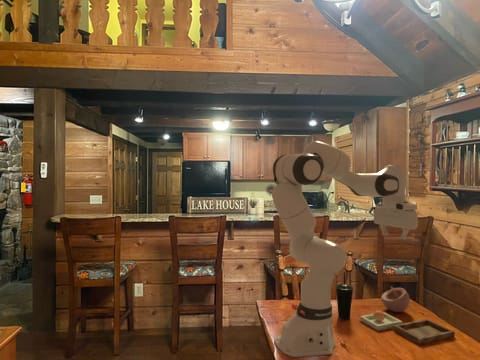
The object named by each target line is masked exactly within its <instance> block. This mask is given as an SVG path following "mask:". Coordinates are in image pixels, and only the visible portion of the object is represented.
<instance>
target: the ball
mask: <svg viewBox="0 0 480 360" xmlns="http://www.w3.org/2000/svg"><path fill="white" fill-rule="evenodd" d="M383 312H384V311H383V310H382V311H381V310H378V309H377V310H374V312H373V313H372V314H373V316H374V318H375V320H377V321H383V320H384V318H385V316H384V313H383Z"/></svg>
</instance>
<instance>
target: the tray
mask: <svg viewBox="0 0 480 360" xmlns="http://www.w3.org/2000/svg"><path fill="white" fill-rule="evenodd" d="M382 312H383V313H384V316H385V318H384V320H383V321H377V320H375V318H374V316H373V314H374V313H371V314H366V315H360V317H359V319H360V322H362V323H363V324H365V325H367V326H368V327H370V328H371V329H374V330H375V331H377V332H380V331H386V330H390V329H394V325H398V324H403V320H400V319H398V318H397V317H395V316H393V315H391V314H388V313H387V312H385V311H382Z"/></svg>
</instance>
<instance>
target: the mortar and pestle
mask: <svg viewBox="0 0 480 360" xmlns="http://www.w3.org/2000/svg"><path fill="white" fill-rule="evenodd" d="M380 299H381V302H382V304H383V306H384V307H385V308H386V309H387V310H389V311H391V312H393V313H402V312H404V311H406V310H407V309H408V307H409V306H410V300H411V299H410V295H409V293H408V292H407V290H406V289H405V288H402V287H393V286H390V289H389V290H386V291H385V292H384V293H382V294H381V297H380Z"/></svg>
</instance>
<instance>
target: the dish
mask: <svg viewBox="0 0 480 360" xmlns="http://www.w3.org/2000/svg"><path fill="white" fill-rule="evenodd" d="M393 331H394V332H396V333H397V334H400V335H401V336H403V337H404V338H406V339H408V340H410V341H412V342H413V343H415V344H417V345H418V346H422V345H427V344H432V343H435V342H439V341H440V342H441V341H445V340H448V339H449V338H450V339H454V338H455V337H456V336H455V335H456V334H455V331H454V330H452V329H450V328H447V327H445V326H443V325H441V324H439V323H438V322H437V323H436V322H435V321H433V320H430V319H429V318H426V319H420V320H415V321H414V320H413V321H409V322H404V323H402V324H398V325H394V328H393ZM450 339H449V340H450Z"/></svg>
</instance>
